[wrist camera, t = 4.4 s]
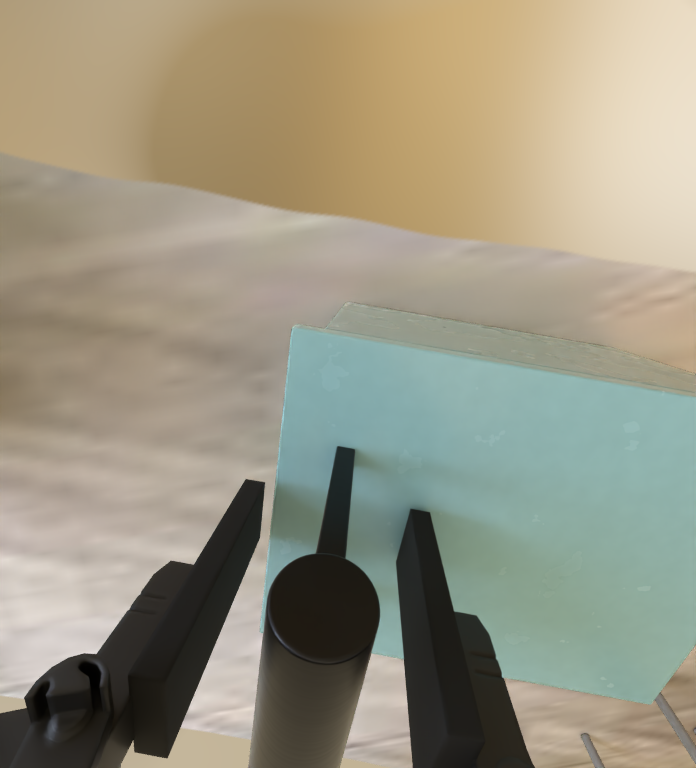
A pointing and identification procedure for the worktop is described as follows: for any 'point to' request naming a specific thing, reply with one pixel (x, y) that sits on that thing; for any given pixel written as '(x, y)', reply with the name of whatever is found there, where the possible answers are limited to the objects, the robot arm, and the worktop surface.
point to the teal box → (509, 345)
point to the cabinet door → (470, 526)
